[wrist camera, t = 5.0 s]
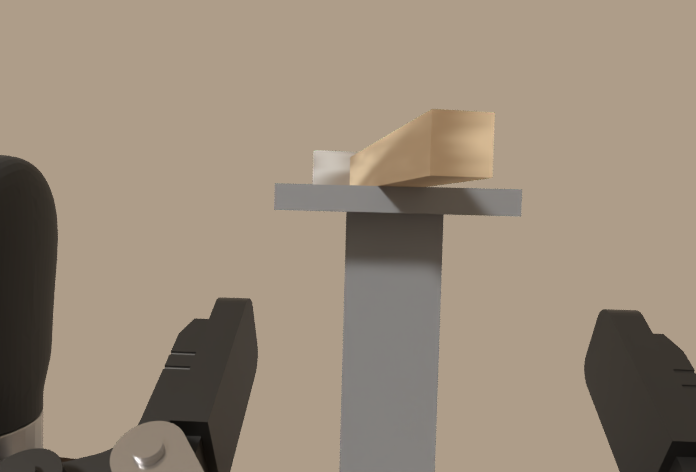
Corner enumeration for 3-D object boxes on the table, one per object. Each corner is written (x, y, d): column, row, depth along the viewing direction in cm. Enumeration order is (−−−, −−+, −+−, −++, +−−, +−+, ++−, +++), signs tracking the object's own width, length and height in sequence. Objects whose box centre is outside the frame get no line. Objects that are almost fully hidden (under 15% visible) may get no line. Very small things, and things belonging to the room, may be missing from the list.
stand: (263, 720, 34) (274, 183, 33) (292, 589, 46) (302, 191, 45) (500, 737, 34) (522, 189, 32) (468, 600, 46) (483, 195, 44)
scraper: (362, 172, 22) (364, 94, 22) (312, 191, 44) (313, 151, 44) (555, 180, 24) (558, 106, 23) (414, 194, 45) (415, 156, 45)
